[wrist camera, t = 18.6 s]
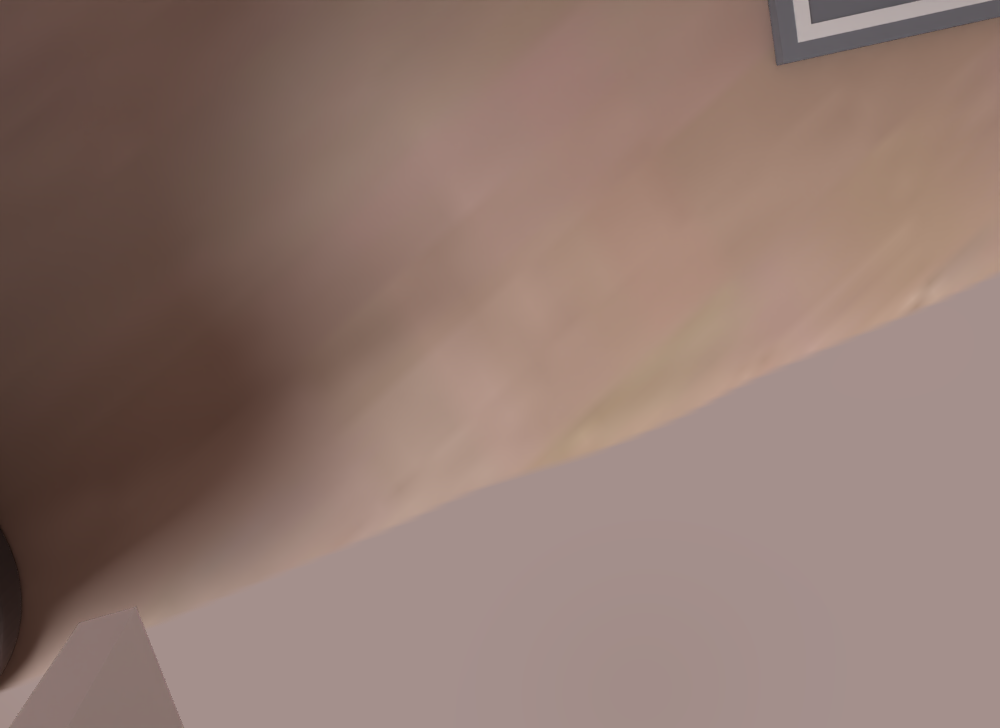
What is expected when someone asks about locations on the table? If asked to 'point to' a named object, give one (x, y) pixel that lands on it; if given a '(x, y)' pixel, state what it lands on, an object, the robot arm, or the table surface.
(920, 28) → the mat
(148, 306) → the table surface
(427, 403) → the table surface
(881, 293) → the table surface
